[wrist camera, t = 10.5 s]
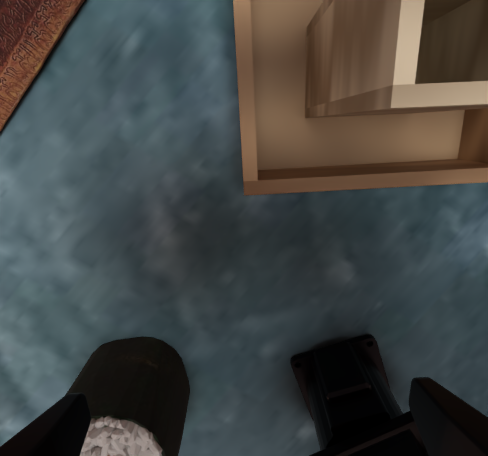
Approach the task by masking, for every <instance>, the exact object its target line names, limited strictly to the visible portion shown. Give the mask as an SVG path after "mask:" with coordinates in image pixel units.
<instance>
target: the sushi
mask: <svg viewBox="0 0 488 456" xmlns="http://www.w3.org/2000/svg"><path fill="white" fill-rule="evenodd" d="M70 393H84V394H85V396H86V399H87V402H88V406H89V410H90V413H91V422H90V426H89V429H88V432H87V435H86V438H85V441H84V444H83V447H82V450H81V453H80V456H178V453H179V449H180V445H181V440H182V435H183V429H184V423H185V418H186V412H187V406H188V400H189V393H190V389H189V381H188V378H187V374H186V371H185V368H184V365H183V362H182V359H181V357H180V356H179V354H178V353H177V352H176V350H175V349H174V348H173V347H171V346H170V345H168V344H167V343H165V342H164V341H162V340H158V339H155V338H151V337H137V338H130V339H123V340H116V341H112V342H109V343H106V344H103V345H101V346H100V347H99V348H98V349H97V350H96V351H95V352H94V353H93V354H92V355H91V357H90V358H89V360H88V361H87V363H86V364H85V366H84V367H83V369H82V371H81V372H80V374H79V375H78V377H77V378H76V380H75V381H74V383H73V385H72V386H71V388H70V389H69V391H68V392H67V394H70ZM67 394H66V395H67ZM66 395H65V396H66Z"/></svg>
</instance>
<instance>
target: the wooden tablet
mask: <svg viewBox="0 0 488 456" xmlns="http://www.w3.org/2000/svg"><path fill="white" fill-rule="evenodd" d="M84 1H85V0H0V132H1V130H2V128H3V127H4V125H5V123H6V121H7V120H8V118H9V117H10V115H11V114H12V112H13V111H14V109H15V108H16V106H17V104H18V103H19V101H20V99H21V98H22V96H23V95H24V93H25V92H26V90H27V89H28V87H29V86H30V84H31V83H32V81H33V80H34V78H35V77H36V75H37V74H38V73H39V71H40V69H41V68H42V66H43V64H44V62H45V60H46V59H47V57H48V55H49V54H50V52H51V51H52V49H53V47H54V46H55V45H56V43H57V42H58V40H59V39H60V37H61V35H62V34H63V32H64V30H65V28H66V27H67V25H68V24H69V22H70V21H71V20H72V18H73V17H74V15H75V14H76V13H77V11H78V9H79V8H80V6H81V5H82V4H83V2H84Z"/></svg>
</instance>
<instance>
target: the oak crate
mask: <svg viewBox="0 0 488 456" xmlns="http://www.w3.org/2000/svg"><path fill="white" fill-rule="evenodd" d="M323 1H324V0H233V6H234V24H235V42H236V59H237V77H238V95H239V112H240V130H241V147H242V165H243V183H244V195H262V194H280V193H298V192H316V191H334V190H353V189H371V188H389V187H407V186H426V185H444V184H462V183H480V182H488V108H483V109H468V110H454V111H439V112H425V113H410V114H387V115H363V116H340V117H316V118H305V86H306V34H307V26H308V24H309V23H310V21H311V20H312V18H313V17H314V15H315V13H316V12H317V10H318V9H319V7H320V6H321V4H322V2H323Z"/></svg>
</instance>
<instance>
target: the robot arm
mask: <svg viewBox="0 0 488 456" xmlns="http://www.w3.org/2000/svg"><path fill="white" fill-rule="evenodd" d="M368 341H371V342H370V343H367V342H368ZM297 362H300V363H299V364H295V363H297ZM291 366H292V369H293V372H294V374H295V377H296V379H297V382H298V384H299V387H300V389H301V392H302V394H303V397H304V399H305V402H306V404H307V407H308V410H309V412H310V415H311V417H312V419H313V421H314V424H315V428H316V433H317V437H318V441H319V445H320V450H321V451H318V452H316V453H314V454H312V455H309V456H488V417H486V416H485V415H483V414H482V413H481V412H479V411H478V410H476V409H475V408H473V407H472V406H470V405H469V404H467V403H466V402H464V401H463V400H462V399H460V398H459V397H457V396H456V395H454V394H453V393H451V392H450V391H448V390H447V389H445V388H444V387H443V386H441V385H440V384H438V383H437V382H435V381H434V380H432V379H431V378H428V377H419V378H413V379H412V382H411V388H410V395H409V407H410V410H411V411H408V412H406V413H404V414H403V413H402V411H401V409H400V407H399V405H398V404H397V402H396V400H395V398H394V396H393V394H392V393H391V391H390V388H389V384H388V381H387V377H386V373H385V370H384V366H383V363H382V359H381V356H380V352H379V349H378V345H377V342H376V340H375V338H374V337H373V336H372V335H365V336H361V337H358V338H355V339H351V340H348V341H345V342H341V343H338V344H334V345H331V346H328V347H324V348H321V349H318V350H314V351H311V352H307V353H304V354H301V355H297V356H294V357H293V358H292V359H291ZM90 422H91V413H90V410H89V406H88V402H87V399H86V396H85V394H84V393H70V394H67V395H66V396H64V397H63V398H62V399H60V400H59V401H58V402H57V403H55V404H54V405H53V406H52V407H50V408H49V409H48V410H46V411H45V412H44V413H43V414H41V415H40V416H39V417H38V418H36V419H35V420H34V421H32V422H31V423H30V424H29V425H27V426H26V427H25V428H24V429H22V430H21V431H20V432H18V433H17V434H16V435H15V436H13V437H12V438H11V439H10V440H8V441H7V442H6V443H4V444H3V445H2V446H1V447H0V456H80V453H81V450H82V447H83V444H84V441H85V438H86V435H87V432H88V429H89V426H90Z"/></svg>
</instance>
